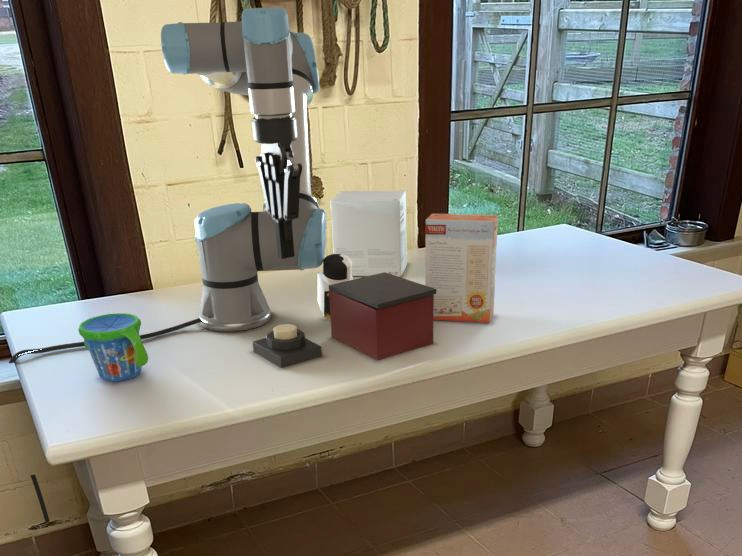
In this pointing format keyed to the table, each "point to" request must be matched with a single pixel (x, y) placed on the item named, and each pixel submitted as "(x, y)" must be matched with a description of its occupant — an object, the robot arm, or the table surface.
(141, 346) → the snack cup
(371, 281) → the dark grey lid
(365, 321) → the dark red box
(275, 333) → the button
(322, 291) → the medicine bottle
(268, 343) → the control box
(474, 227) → the cracker box
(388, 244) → the supplement box
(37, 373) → the table surface
